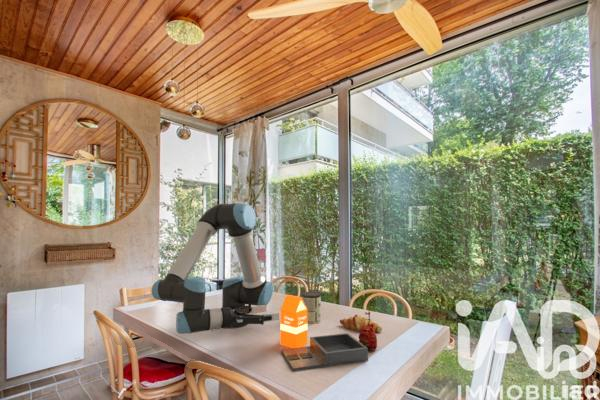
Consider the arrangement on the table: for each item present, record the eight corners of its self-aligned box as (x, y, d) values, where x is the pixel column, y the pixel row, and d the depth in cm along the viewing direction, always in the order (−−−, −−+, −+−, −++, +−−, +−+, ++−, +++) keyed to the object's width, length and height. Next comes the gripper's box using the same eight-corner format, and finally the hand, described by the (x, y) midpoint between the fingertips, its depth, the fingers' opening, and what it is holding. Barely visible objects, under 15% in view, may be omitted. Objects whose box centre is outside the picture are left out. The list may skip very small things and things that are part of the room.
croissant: (383, 338, 147) (385, 321, 151) (379, 334, 139) (381, 316, 143) (341, 330, 156) (343, 314, 160) (335, 326, 149) (338, 309, 153)
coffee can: (302, 317, 168) (302, 291, 170) (321, 318, 167) (321, 291, 169) (300, 323, 158) (300, 295, 159) (320, 324, 157) (320, 295, 158)
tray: (293, 371, 105) (293, 357, 106) (281, 352, 122) (281, 340, 122) (368, 360, 114) (367, 348, 114) (347, 344, 130) (347, 333, 130)
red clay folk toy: (355, 348, 125) (355, 310, 127) (364, 343, 131) (363, 307, 132) (372, 353, 121) (371, 314, 122) (380, 348, 126) (379, 310, 127)
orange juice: (292, 339, 136) (292, 293, 137) (307, 344, 130) (307, 295, 132) (279, 344, 130) (280, 296, 131) (295, 349, 124) (296, 299, 126)
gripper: (213, 320, 127) (261, 314, 137) (227, 338, 105) (284, 330, 115) (213, 301, 128) (261, 296, 138) (228, 316, 106) (284, 309, 115)
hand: (272, 312), depth 126 cm, fingers open, 13 cm apart
